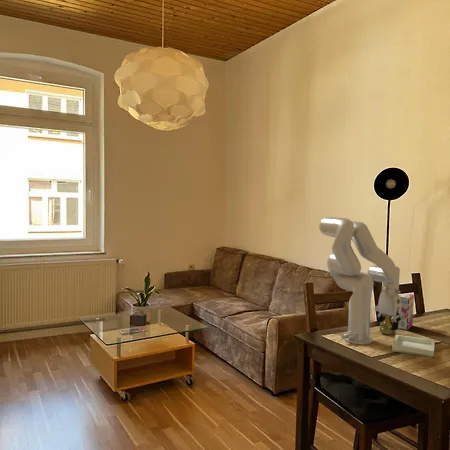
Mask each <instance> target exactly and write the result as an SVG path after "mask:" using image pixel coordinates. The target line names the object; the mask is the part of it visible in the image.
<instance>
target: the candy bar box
mask: <svg viewBox="0 0 450 450" xmlns="http://www.w3.org/2000/svg"><path fill="white" fill-rule="evenodd" d="M414 297H415V294H411V293H403V294H402V295H400V299H401V311H402V312H403V314H404V315H405V316H404V317H403V318H402V319H401V320H400V321H399V322H398V330H403V331H408V330H409V329H410V328H411V327H412V326H413V323H414V322H413V320H414V319H413V317H414V302H415V298H414ZM399 316H400V315H399ZM399 316H398V317H399Z"/></svg>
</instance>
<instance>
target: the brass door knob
mask: <svg viewBox="0 0 450 450" xmlns="http://www.w3.org/2000/svg"><path fill="white" fill-rule="evenodd" d="M383 317H384V320H383V321H381V322H380V325H381V326H379V332H380V333H382V334H385V335H396V332H397V330H393V322H394V320H393V319H392V318H393V317H392V316H390V315H388V314H383Z"/></svg>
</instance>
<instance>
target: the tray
mask: <svg viewBox="0 0 450 450" xmlns="http://www.w3.org/2000/svg"><path fill="white" fill-rule="evenodd" d="M435 341H436V340H435V339H429V338H425V337H424V338H423V337H416V336H410V335H404V334H403V335H402V334H395V335H394V340H393V341H392V347H391V350H392V352H394V353H400V354H405V355H406V354H407V355H413V356H418V357H424V358H425V357H426V358H431V359H434V357H435V355H434V354H435Z"/></svg>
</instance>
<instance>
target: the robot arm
mask: <svg viewBox="0 0 450 450" xmlns="http://www.w3.org/2000/svg"><path fill="white" fill-rule="evenodd" d="M318 224H319V225H318V227H319V231H320V233H322V235H324V236H327V237H332V238H334V240H333V244H332V246H331V254H330V255H329V256H328V258H327V263H326V266H327V269H328V271H329V273H330V275H331V276H332V278H333V280H334V281H335V283H336V284H337V286H338V288H340V289H342V290H345V291H350V292H352V294H351V296H350V298H349V301H348V321H347V330H346V333H343V334H341V336H340V337H341V339H342V340H345V342H347V343H350V344H354V345H371V344H373V342H374V339H373V337H371V336H370V333H371V305H372V303H371V302H372V295H373V294H372V293H373V290H374V285H375V283H374V282H377V283H378V282H379V283H381V284H382V285H381V292H380V295H379V298H378V304H377V305H376V306H374V308H373V310H374V311H375V314H376V315H377V318H378V321H377V324H378V327H380V326H381V325H380V322H381V321H383V320H384V319H385V316H384V315H383V314H388V315H390V316H392V318H393V319H392V320H393V330H396V331H398V330H399V329H398V322H399V321H400V320H401V319H402V318H403V317H404V316H405V315H404V314H403V312H402V311H401V299H400V296H401V295H400V294H401V291H400V289H399V288H400V275H401V274H400V273H401V270H400V267H399V266H397V265H396V263H394V260H393V259H392V258H391V257H390V256H389V255H388V254H386V253H385V252H384V251H383V250H382V249H380V248H379V247H378V246H377V244H376V241H375V239H374V237H373V236H372V234H371V232H370V230H369V227H368V226H367V224H366V223H364V222H362V221H353V220H351V219H349V218H346V217H333V216H328V217H327V216H326V217H324V218H322V219H321V220H320V222H319V223H318ZM352 242H353V244H354V246H355V248H356V250H357V252H358V254H359V255H360V257H362V258H363V259H365V260H366V261H368V262H371V263H372V264H374V265H372V266H370V267H369V268H368V269H367V273H365V272H362V265H361V262H360V260H359V258H358V256H357V255H356V253H355V251H354V248H353V247H352V244H351V243H352ZM399 315H400V316H399ZM398 316H399V317H398Z"/></svg>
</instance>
